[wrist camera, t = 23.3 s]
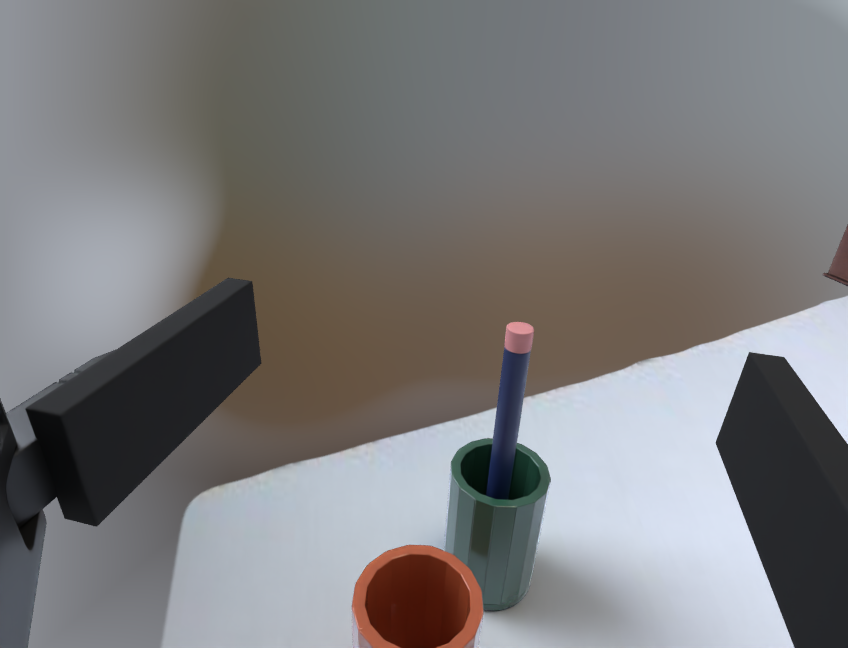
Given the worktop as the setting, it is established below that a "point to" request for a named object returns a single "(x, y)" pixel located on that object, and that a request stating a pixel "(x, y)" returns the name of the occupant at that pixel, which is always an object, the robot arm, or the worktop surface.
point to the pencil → (509, 408)
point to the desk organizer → (840, 262)
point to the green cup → (496, 521)
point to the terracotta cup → (417, 601)
